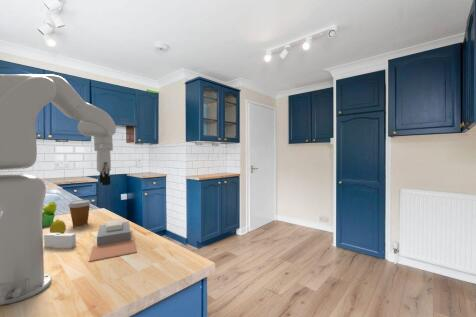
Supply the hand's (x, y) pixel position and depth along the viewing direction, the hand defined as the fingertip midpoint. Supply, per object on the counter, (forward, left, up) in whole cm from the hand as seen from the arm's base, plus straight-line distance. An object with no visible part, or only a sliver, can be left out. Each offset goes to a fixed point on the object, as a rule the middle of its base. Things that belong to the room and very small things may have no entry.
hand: (104, 183), depth 108 cm
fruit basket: (+26, +28, -23) cm, 45 cm away
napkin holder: (-12, +16, -23) cm, 30 cm away
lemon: (-1, +18, -23) cm, 29 cm away
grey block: (-13, -4, -23) cm, 26 cm away
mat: (-27, -4, -23) cm, 36 cm away
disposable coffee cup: (+16, +12, -23) cm, 31 cm away
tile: (-11, -4, -19) cm, 22 cm away
